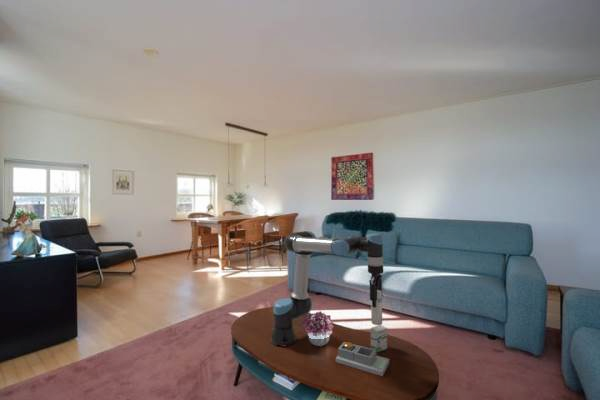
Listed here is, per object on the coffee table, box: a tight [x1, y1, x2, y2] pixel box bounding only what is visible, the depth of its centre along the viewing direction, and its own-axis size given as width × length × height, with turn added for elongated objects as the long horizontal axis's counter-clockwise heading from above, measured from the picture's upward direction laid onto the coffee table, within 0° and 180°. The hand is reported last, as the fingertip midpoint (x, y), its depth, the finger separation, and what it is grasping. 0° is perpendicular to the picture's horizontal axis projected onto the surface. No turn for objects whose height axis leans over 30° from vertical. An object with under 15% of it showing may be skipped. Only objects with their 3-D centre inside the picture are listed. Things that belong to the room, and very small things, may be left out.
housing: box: [335, 341, 390, 377], centre depth 146 cm, size 24×13×6 cm, turn 59°
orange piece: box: [344, 341, 354, 351], centre depth 150 cm, size 5×5×5 cm
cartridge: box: [370, 290, 383, 326], centre depth 143 cm, size 5×5×16 cm
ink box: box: [370, 324, 388, 353], centre depth 160 cm, size 9×5×12 cm, turn 123°
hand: (376, 311), depth 142 cm, fingers closed on cartridge, 5 cm apart
